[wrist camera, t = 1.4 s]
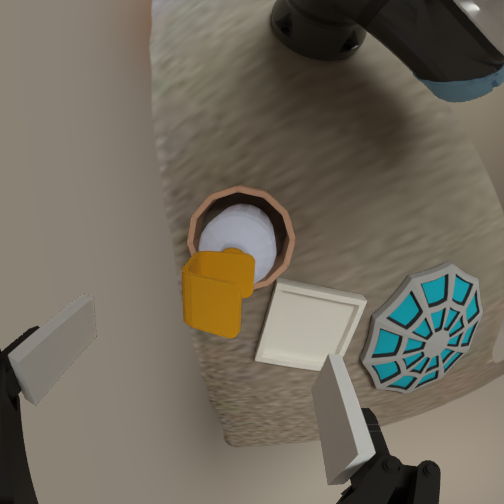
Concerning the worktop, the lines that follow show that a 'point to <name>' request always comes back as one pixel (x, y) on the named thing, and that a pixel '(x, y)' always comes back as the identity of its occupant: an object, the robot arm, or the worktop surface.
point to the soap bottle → (227, 268)
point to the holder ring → (198, 217)
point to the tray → (307, 324)
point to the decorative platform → (422, 329)
